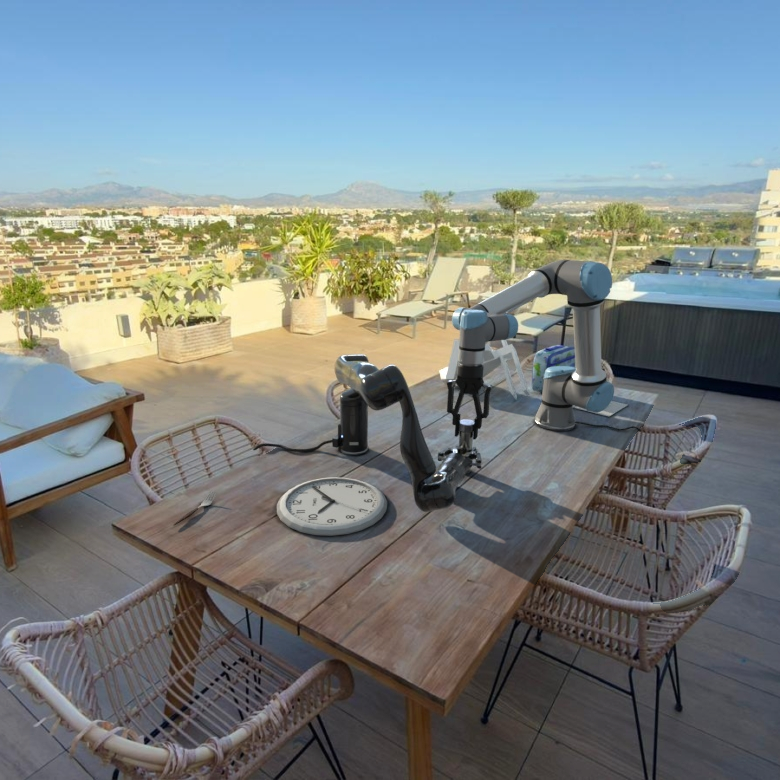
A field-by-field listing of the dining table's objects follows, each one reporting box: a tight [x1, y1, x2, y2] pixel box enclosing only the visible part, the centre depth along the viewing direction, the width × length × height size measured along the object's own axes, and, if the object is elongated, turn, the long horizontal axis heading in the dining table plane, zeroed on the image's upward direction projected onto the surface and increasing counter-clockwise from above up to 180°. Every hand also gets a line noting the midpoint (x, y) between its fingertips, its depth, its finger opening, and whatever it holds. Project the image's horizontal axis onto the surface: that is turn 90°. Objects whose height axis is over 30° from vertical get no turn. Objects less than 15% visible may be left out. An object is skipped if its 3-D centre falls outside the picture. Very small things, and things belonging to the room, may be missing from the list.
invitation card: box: [573, 400, 629, 418], centre depth 226 cm, size 21×1×15 cm
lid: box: [458, 419, 474, 432], centre depth 160 cm, size 5×5×2 cm
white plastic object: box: [438, 338, 531, 400], centre depth 245 cm, size 37×45×31 cm
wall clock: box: [276, 476, 388, 537], centre depth 142 cm, size 30×2×30 cm
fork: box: [173, 490, 218, 526], centre depth 138 cm, size 3×16×2 cm, turn 160°
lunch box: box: [531, 344, 576, 393], centre depth 246 cm, size 26×11×21 cm, turn 135°
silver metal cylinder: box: [458, 431, 474, 475], centre depth 162 cm, size 4×4×16 cm
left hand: (467, 448), depth 165 cm, fingers closed on silver metal cylinder, 4 cm apart
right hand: (466, 436), depth 161 cm, fingers closed on lid, 5 cm apart
